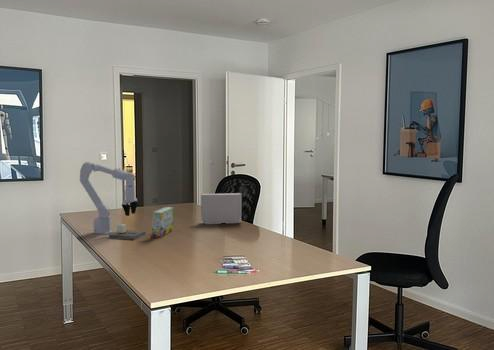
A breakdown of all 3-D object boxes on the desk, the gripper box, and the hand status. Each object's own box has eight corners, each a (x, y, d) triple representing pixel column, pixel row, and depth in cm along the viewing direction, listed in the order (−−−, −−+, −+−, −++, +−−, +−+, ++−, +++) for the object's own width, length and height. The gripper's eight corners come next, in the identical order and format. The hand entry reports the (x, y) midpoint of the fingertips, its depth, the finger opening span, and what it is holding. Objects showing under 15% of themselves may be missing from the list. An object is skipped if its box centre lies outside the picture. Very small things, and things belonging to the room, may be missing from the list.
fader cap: (116, 232, 275) (116, 224, 275) (120, 231, 279) (119, 223, 278) (122, 232, 274) (122, 225, 274) (126, 231, 278) (126, 223, 278)
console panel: (109, 238, 271) (109, 234, 271) (121, 233, 284) (121, 229, 284) (134, 239, 267) (134, 236, 267) (145, 234, 281) (145, 231, 280)
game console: (241, 223, 320) (242, 194, 318) (202, 224, 313) (202, 195, 311) (240, 221, 325) (240, 193, 324) (200, 222, 319) (201, 193, 317)
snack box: (160, 238, 273) (160, 212, 271) (151, 237, 274) (151, 212, 272) (173, 230, 293) (173, 206, 292) (165, 230, 294) (165, 206, 293)
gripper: (130, 194, 279) (130, 217, 281) (141, 191, 293) (141, 212, 295) (119, 194, 281) (119, 216, 282) (131, 191, 295) (131, 212, 296)
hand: (130, 214), depth 288 cm, fingers open, 7 cm apart
